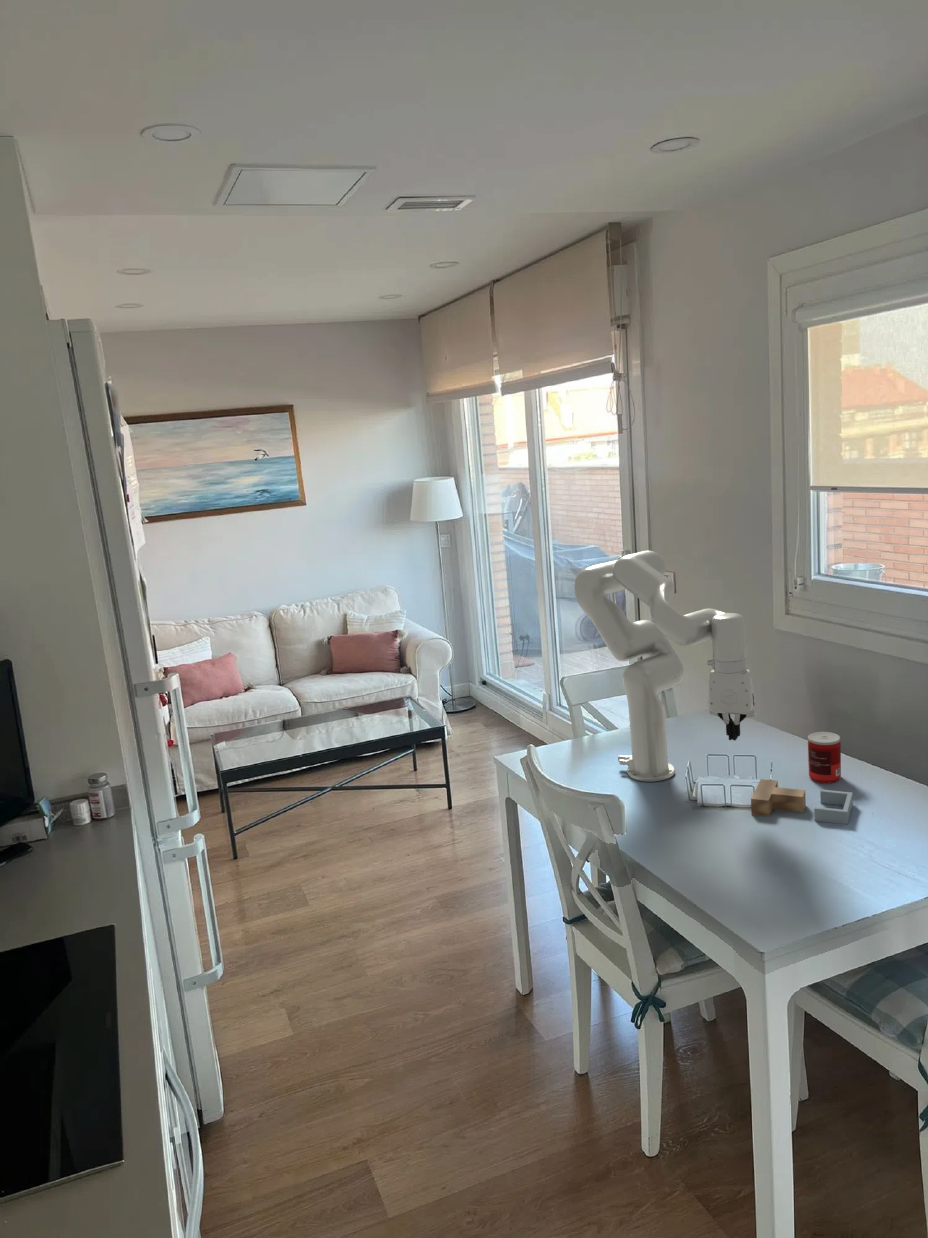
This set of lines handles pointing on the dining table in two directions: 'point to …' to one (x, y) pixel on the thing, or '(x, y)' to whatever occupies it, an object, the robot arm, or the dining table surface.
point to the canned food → (824, 757)
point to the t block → (776, 799)
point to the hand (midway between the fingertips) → (733, 738)
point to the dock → (834, 814)
